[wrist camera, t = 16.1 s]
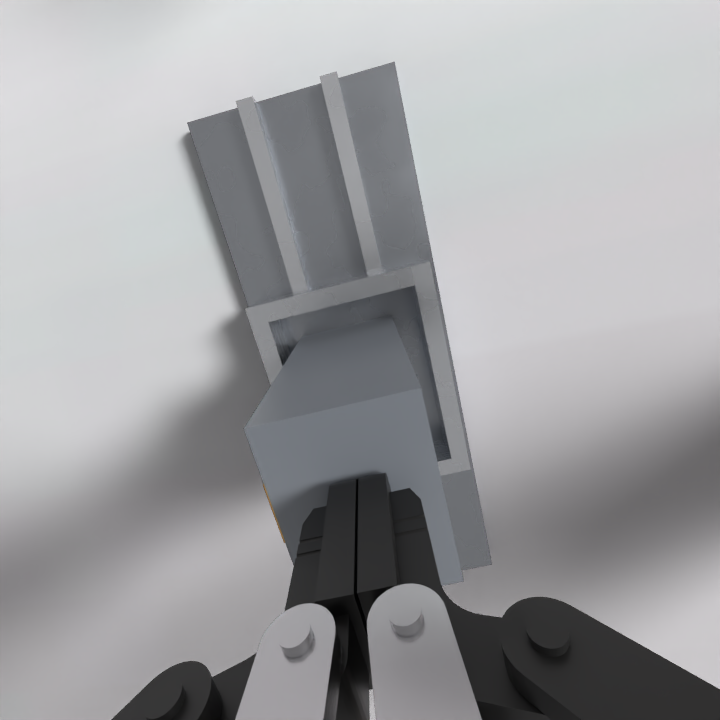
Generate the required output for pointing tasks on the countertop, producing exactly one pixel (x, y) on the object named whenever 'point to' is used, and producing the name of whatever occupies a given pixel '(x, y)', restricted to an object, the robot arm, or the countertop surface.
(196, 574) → the countertop surface
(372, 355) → the module
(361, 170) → the rail
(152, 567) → the countertop surface
